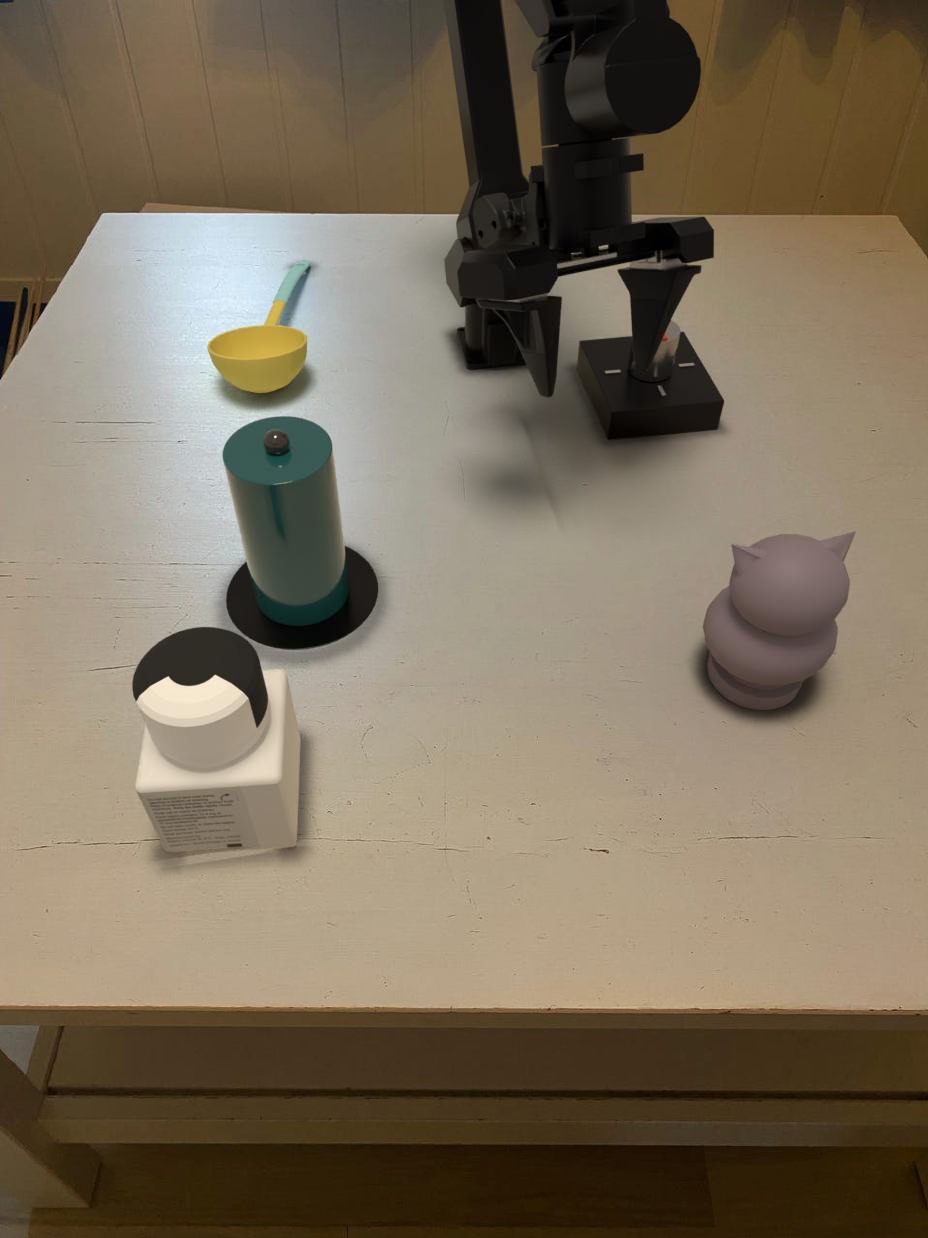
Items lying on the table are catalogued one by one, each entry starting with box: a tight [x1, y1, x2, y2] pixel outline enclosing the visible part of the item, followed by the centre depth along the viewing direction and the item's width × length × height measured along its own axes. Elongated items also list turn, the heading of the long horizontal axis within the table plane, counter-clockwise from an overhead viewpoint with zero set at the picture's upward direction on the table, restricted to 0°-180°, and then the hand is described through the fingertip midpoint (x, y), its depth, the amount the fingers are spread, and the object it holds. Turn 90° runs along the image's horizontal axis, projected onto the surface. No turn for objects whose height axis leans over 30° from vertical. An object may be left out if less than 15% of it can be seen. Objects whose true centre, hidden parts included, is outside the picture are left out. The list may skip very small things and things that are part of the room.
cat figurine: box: [702, 530, 857, 711], centre depth 60 cm, size 8×8×12 cm
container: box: [131, 626, 301, 854], centre depth 53 cm, size 8×8×13 cm
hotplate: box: [225, 545, 379, 651], centre depth 69 cm, size 11×11×1 cm
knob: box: [627, 320, 681, 382], centre depth 82 cm, size 4×4×4 cm
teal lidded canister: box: [221, 415, 349, 626], centre depth 63 cm, size 7×7×14 cm
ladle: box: [206, 259, 312, 394], centre depth 92 cm, size 9×26×6 cm, turn 177°
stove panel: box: [576, 331, 725, 441], centre depth 85 cm, size 11×10×3 cm
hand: (596, 382), depth 68 cm, fingers open, 9 cm apart
